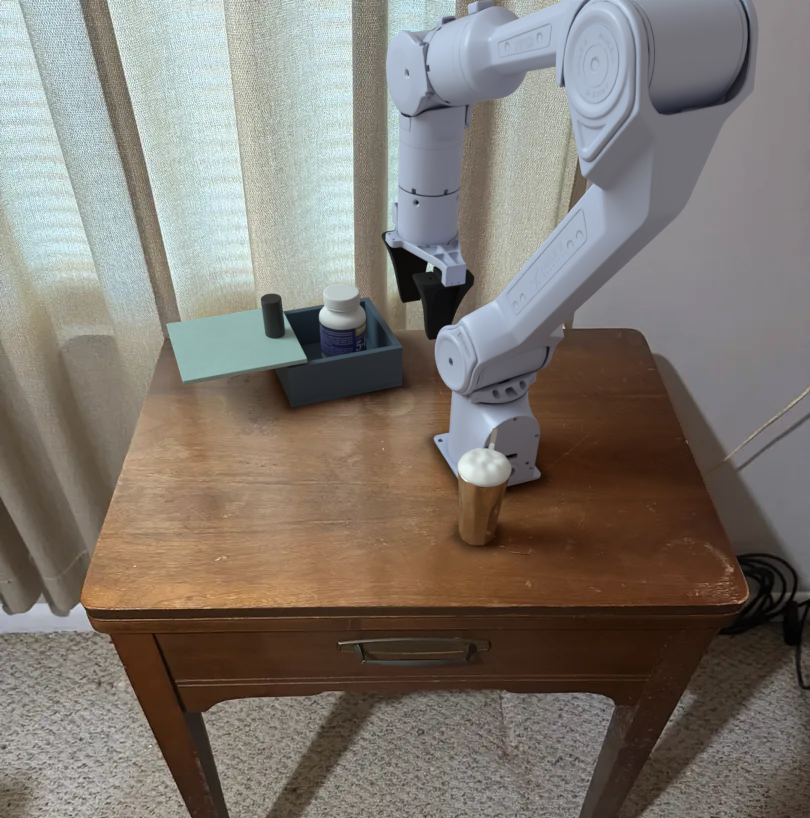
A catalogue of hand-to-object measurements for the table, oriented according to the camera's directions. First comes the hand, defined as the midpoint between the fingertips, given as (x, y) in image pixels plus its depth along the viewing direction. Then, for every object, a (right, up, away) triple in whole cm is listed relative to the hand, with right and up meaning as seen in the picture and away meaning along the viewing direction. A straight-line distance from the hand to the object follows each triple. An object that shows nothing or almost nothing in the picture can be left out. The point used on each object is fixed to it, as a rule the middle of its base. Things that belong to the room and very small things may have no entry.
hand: (423, 318), depth 79 cm
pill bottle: (-9, -2, +10) cm, 14 cm away
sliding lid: (-20, -2, +4) cm, 21 cm away
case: (-10, -3, +10) cm, 15 cm away
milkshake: (+5, -22, -8) cm, 24 cm away
